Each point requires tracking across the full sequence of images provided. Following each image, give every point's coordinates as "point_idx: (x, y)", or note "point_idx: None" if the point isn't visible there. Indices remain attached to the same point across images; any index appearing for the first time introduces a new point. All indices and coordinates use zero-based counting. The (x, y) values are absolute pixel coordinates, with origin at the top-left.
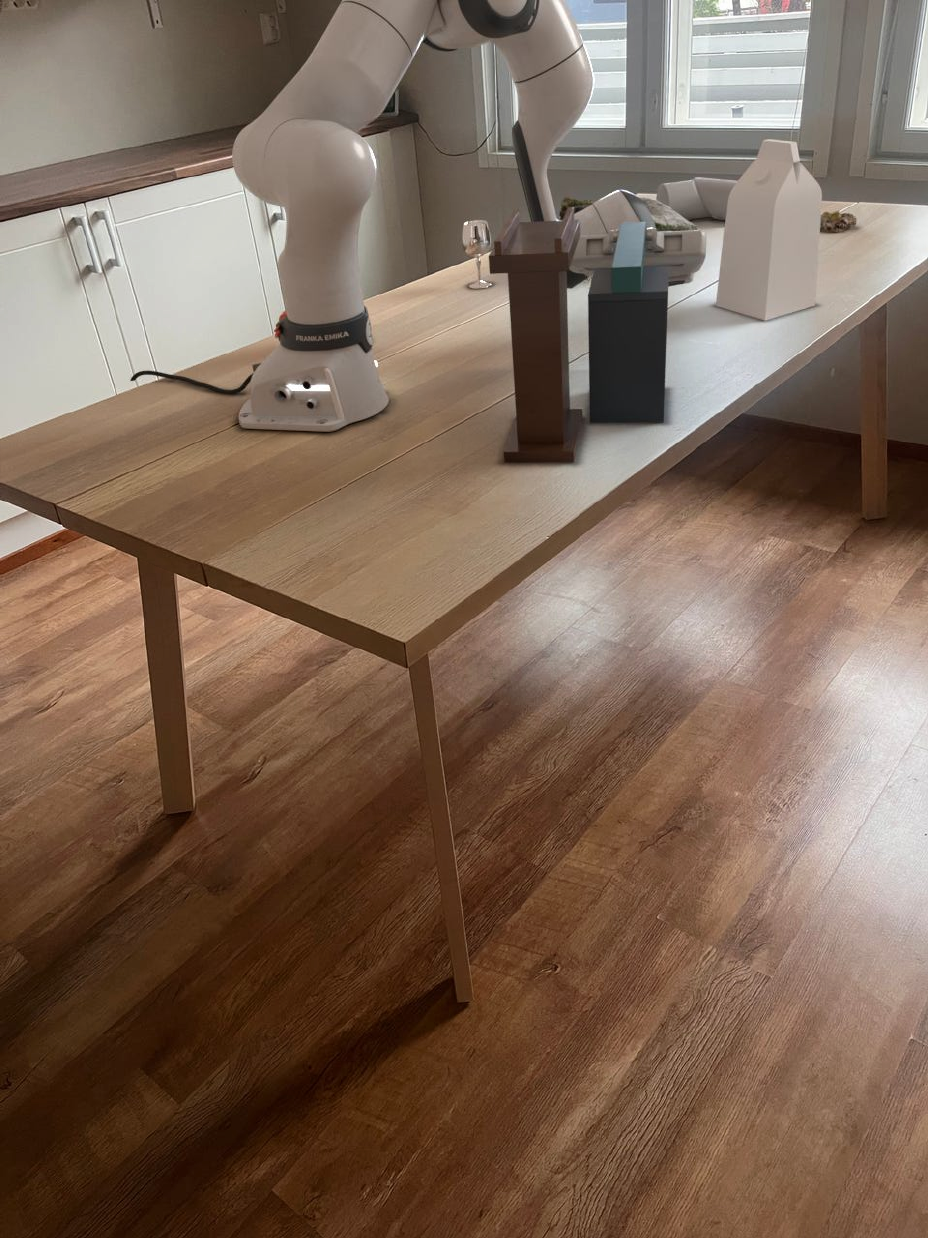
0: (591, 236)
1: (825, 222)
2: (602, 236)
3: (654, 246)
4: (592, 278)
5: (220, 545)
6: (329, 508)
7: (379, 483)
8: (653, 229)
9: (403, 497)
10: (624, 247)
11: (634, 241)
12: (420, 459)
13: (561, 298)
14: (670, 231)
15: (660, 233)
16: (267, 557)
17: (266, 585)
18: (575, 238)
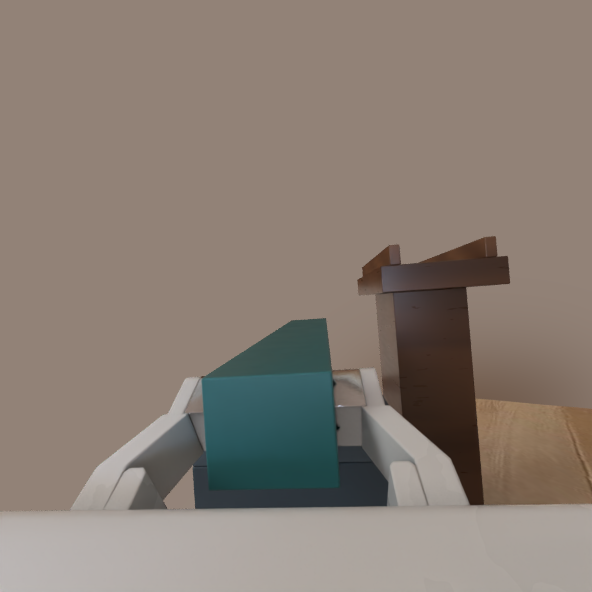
0: (582, 507)
1: None
2: (485, 505)
3: (182, 475)
4: (386, 403)
5: (575, 413)
6: (551, 438)
7: (551, 462)
8: (199, 379)
9: (503, 449)
10: (310, 327)
11: (290, 332)
12: (561, 496)
13: (382, 337)
14: (3, 514)
15: (135, 442)
16: (527, 410)
17: (498, 400)
18: (368, 280)
